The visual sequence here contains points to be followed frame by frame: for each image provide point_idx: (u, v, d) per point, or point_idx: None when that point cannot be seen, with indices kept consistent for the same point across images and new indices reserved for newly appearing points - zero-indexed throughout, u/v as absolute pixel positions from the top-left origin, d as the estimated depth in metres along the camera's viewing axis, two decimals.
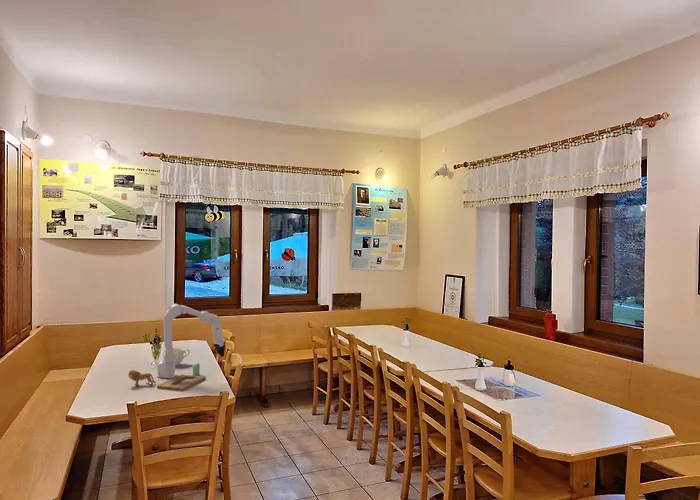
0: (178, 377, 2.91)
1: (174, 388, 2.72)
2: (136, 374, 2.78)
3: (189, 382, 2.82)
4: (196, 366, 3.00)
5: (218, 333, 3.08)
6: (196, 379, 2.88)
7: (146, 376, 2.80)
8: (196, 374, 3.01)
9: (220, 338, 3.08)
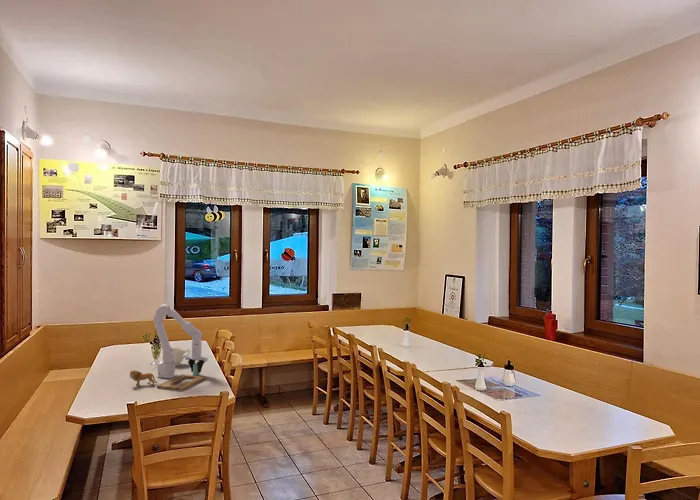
0: (178, 377, 2.91)
1: (174, 388, 2.72)
2: (137, 374, 2.78)
3: (189, 382, 2.82)
4: (196, 366, 3.00)
5: (196, 349, 2.99)
6: (196, 379, 2.88)
7: (147, 376, 2.80)
8: (196, 374, 3.01)
9: None
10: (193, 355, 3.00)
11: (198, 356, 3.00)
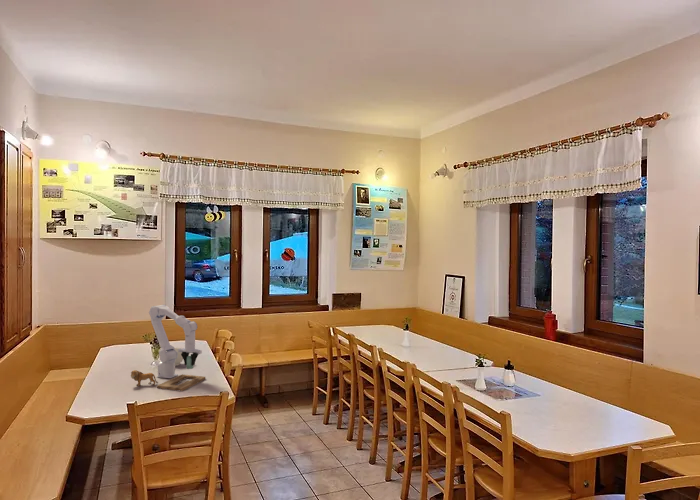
0: (178, 377, 2.91)
1: (174, 388, 2.72)
2: (138, 374, 2.78)
3: (189, 382, 2.82)
4: (190, 359, 2.91)
5: (187, 341, 2.89)
6: (196, 379, 2.88)
7: (148, 376, 2.80)
8: (190, 367, 2.91)
9: (194, 346, 2.92)
10: (186, 347, 2.89)
11: (192, 348, 2.90)
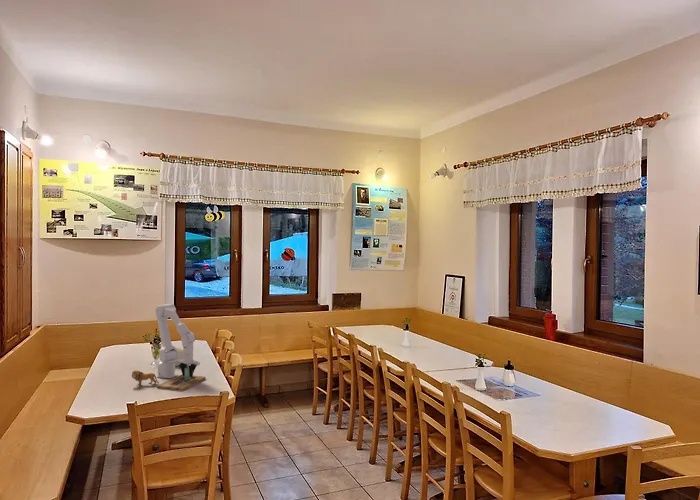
0: (178, 377, 2.91)
1: (174, 388, 2.72)
2: (139, 374, 2.78)
3: (189, 382, 2.82)
4: (188, 370, 2.88)
5: (184, 352, 2.87)
6: (196, 379, 2.88)
7: (149, 376, 2.80)
8: (188, 378, 2.88)
9: (192, 357, 2.90)
10: (184, 359, 2.87)
11: (190, 360, 2.88)
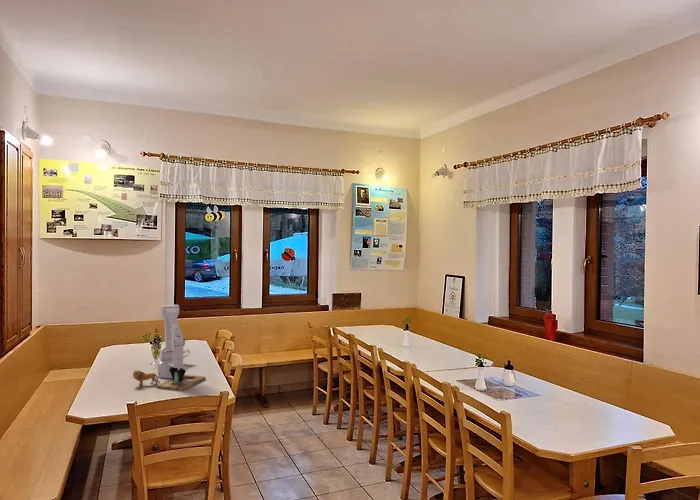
0: None
1: (174, 388, 2.72)
2: (141, 374, 2.78)
3: (189, 382, 2.82)
4: (177, 375, 2.78)
5: (173, 356, 2.78)
6: (196, 379, 2.88)
7: (151, 376, 2.80)
8: (177, 383, 2.78)
9: (182, 361, 2.79)
10: (173, 363, 2.78)
11: (178, 364, 2.78)
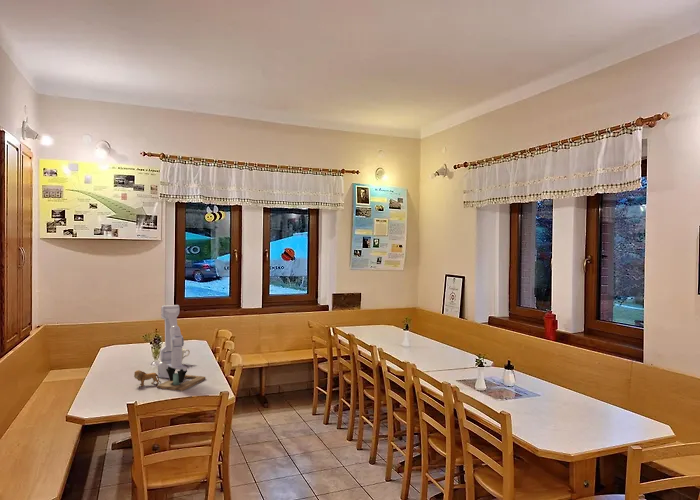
0: None
1: (174, 388, 2.72)
2: (142, 374, 2.78)
3: (189, 382, 2.82)
4: (176, 376, 2.77)
5: (171, 356, 2.77)
6: (196, 379, 2.88)
7: (152, 376, 2.81)
8: None
9: (181, 362, 2.78)
10: (172, 363, 2.77)
11: (177, 364, 2.76)
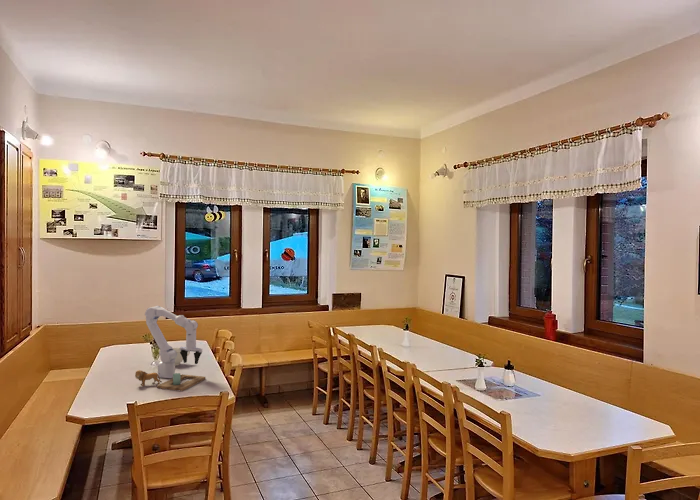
0: None
1: (174, 388, 2.72)
2: (143, 374, 2.78)
3: (189, 382, 2.82)
4: (176, 376, 2.77)
5: (189, 339, 2.93)
6: (196, 379, 2.88)
7: (153, 376, 2.81)
8: None
9: (195, 344, 2.96)
10: (187, 346, 2.93)
11: (193, 347, 2.94)
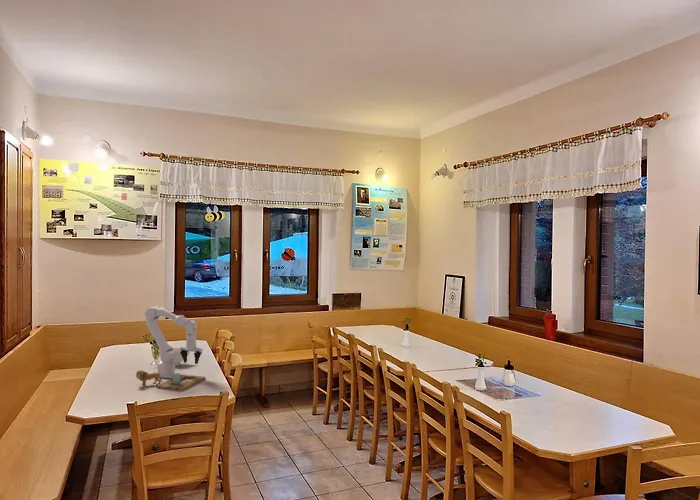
0: None
1: (174, 388, 2.72)
2: (144, 374, 2.79)
3: (189, 382, 2.82)
4: (176, 376, 2.77)
5: (189, 339, 2.93)
6: (196, 379, 2.88)
7: (154, 376, 2.81)
8: None
9: (195, 344, 2.96)
10: (188, 346, 2.94)
11: (193, 347, 2.94)
